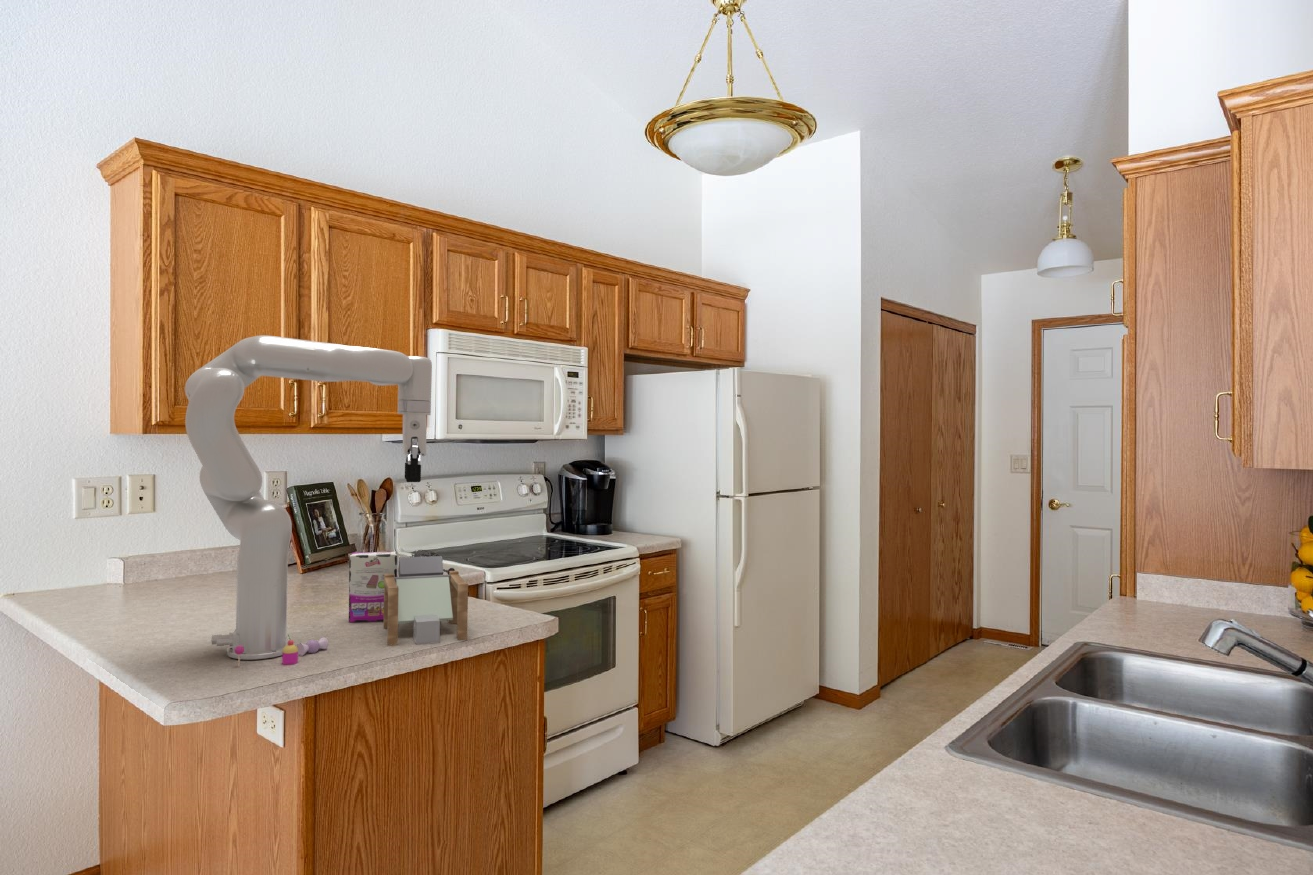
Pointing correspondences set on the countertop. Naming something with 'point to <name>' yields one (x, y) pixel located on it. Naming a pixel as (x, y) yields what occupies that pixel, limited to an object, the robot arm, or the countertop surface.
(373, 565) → the candy bar box
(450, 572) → the frame
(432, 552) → the massage brush
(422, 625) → the light gray block
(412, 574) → the trapdoor
